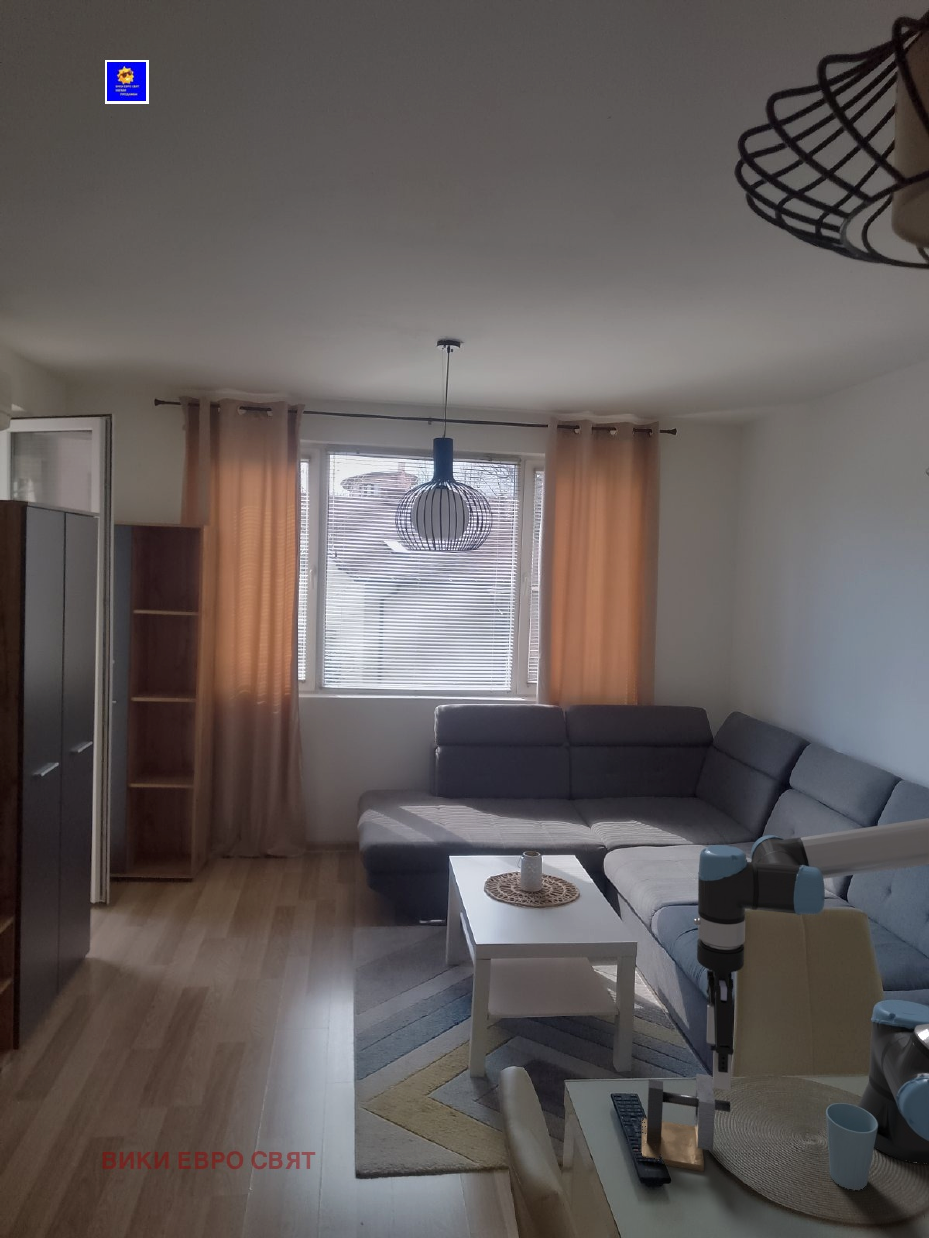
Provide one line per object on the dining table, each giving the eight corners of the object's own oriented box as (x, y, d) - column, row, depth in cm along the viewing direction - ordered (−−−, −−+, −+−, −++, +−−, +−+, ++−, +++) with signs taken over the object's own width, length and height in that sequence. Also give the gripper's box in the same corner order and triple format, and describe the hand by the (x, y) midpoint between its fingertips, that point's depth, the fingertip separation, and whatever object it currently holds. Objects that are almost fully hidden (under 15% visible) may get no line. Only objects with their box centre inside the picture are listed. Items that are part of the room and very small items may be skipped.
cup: (885, 1188, 138) (888, 1125, 137) (850, 1201, 134) (853, 1137, 134) (846, 1158, 144) (849, 1098, 144) (813, 1170, 141) (815, 1109, 141)
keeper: (724, 1136, 149) (727, 1077, 149) (730, 1175, 139) (733, 1113, 139) (641, 1123, 152) (643, 1066, 151) (641, 1160, 142) (643, 1099, 142)
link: (709, 1120, 149) (711, 1075, 148) (713, 1150, 141) (715, 1103, 140) (694, 1117, 149) (696, 1073, 149) (697, 1147, 141) (699, 1101, 141)
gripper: (693, 910, 156) (691, 1023, 157) (702, 972, 131) (699, 1106, 132) (736, 913, 154) (733, 1028, 155) (753, 977, 130) (750, 1112, 131)
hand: (718, 1064), depth 144 cm, fingers open, 13 cm apart
